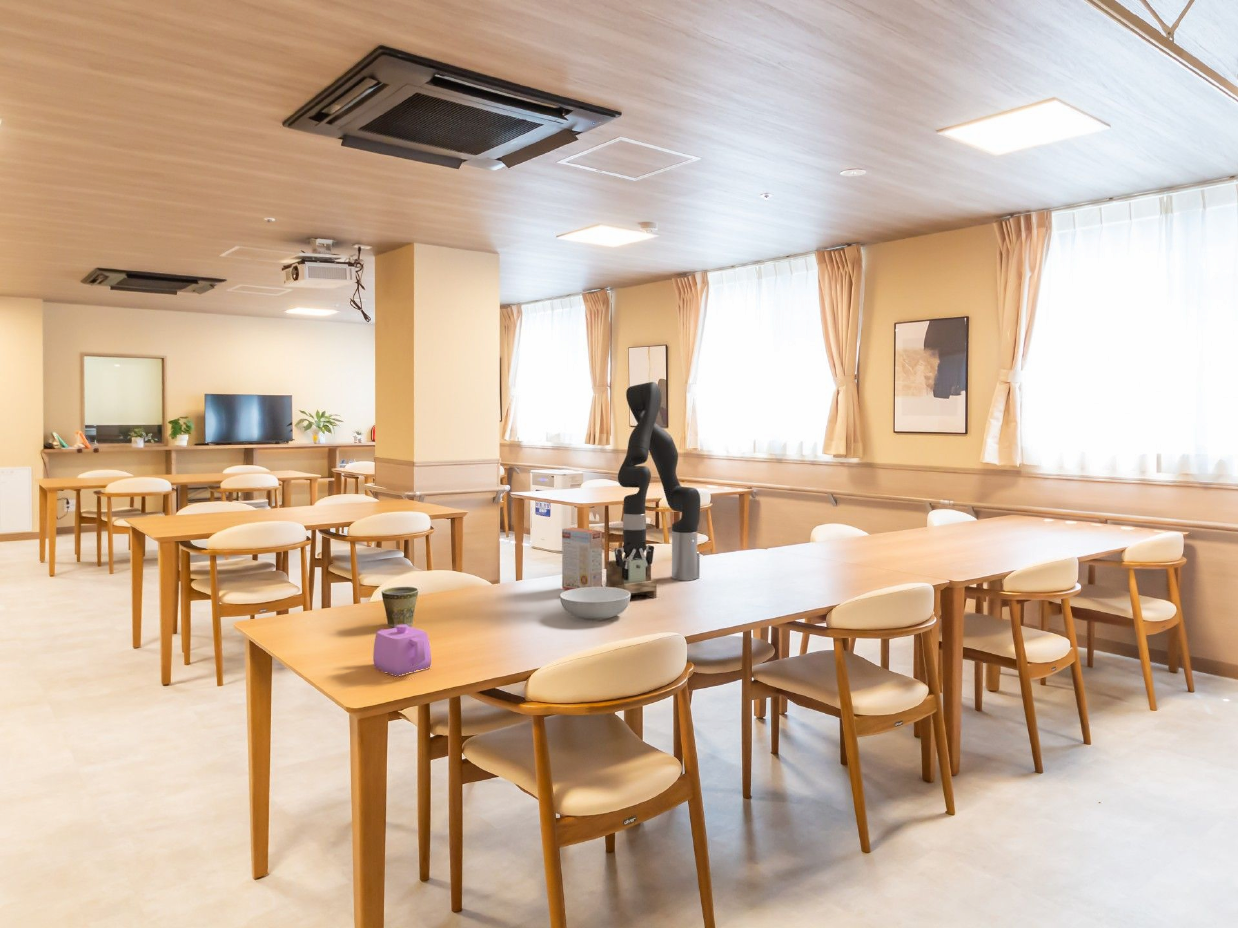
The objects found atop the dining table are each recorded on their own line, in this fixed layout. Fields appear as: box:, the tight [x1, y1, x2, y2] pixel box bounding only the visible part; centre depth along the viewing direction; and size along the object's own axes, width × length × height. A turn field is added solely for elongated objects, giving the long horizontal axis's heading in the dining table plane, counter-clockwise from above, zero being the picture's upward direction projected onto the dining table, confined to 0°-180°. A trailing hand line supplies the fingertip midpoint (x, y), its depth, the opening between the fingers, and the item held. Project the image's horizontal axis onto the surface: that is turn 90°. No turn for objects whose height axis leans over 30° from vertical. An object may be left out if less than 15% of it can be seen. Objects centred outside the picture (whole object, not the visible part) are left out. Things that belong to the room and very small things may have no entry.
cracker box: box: [561, 527, 603, 591], centre depth 278 cm, size 14×6×21 cm, turn 46°
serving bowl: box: [559, 586, 632, 621], centre depth 243 cm, size 21×21×7 cm
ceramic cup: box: [381, 586, 419, 628], centre depth 234 cm, size 13×10×10 cm
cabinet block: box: [623, 558, 646, 584], centre depth 267 cm, size 6×5×8 cm
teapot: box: [372, 625, 432, 677], centre depth 194 cm, size 18×10×10 cm, turn 45°
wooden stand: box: [605, 559, 658, 599], centre depth 268 cm, size 16×8×12 cm, turn 120°
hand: (634, 578), depth 268 cm, fingers closed on cabinet block, 6 cm apart
